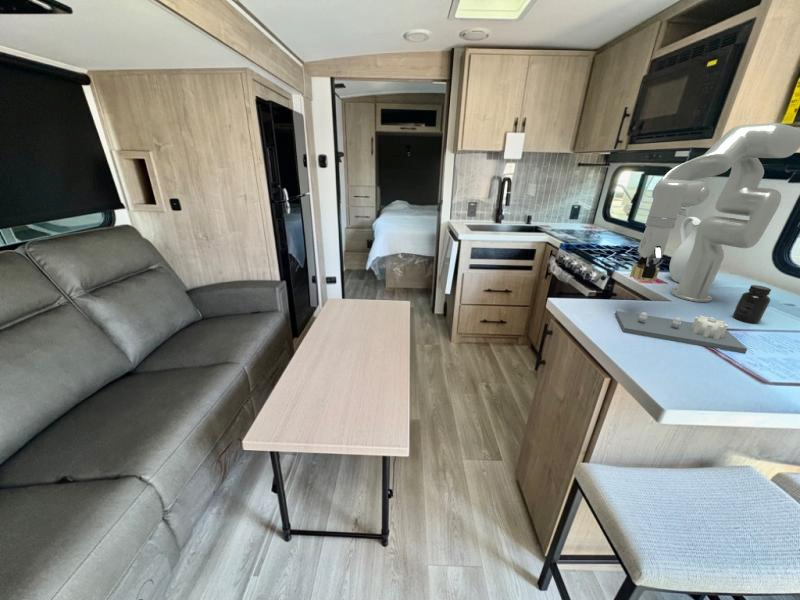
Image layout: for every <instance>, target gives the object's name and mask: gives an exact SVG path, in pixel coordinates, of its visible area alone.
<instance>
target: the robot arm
mask: <svg viewBox="0 0 800 600" xmlns="http://www.w3.org/2000/svg"><path fill="white" fill-rule="evenodd" d="M799 149H800V128H798V127H795V126H793V125H788V124H784V123H777V122H774V123H773V122H772V123H771V122H770V123H753V124H743V125H741V124H740V125H738V126H735V127H732V128H731V129H729V130H728V131H726V133H724V134H723V135H722V136H721V137H720V138H719V139H718V140H717V141H716V142H715V143H714V144H713V145H712V146H711V147H710V148H709V149H708V150H707V151H706V152H705V153H704V154H702V155H700V156H699V155H698V156H697V157H694V158H692V159H690V160H687V161H685V162H683V163H681V164H678V165H677V166H674V167H673V168H671V169H670V170H669V171H667V172H666V174H664V176H662V177H661V178H660V179H659V180H658V182H656V184H655V186H654V187H653V190H652V194H651V196H652V203H651V205H650V208H649V212H648V215H647V219H646V221H645V222H646V223H645V224H644V226H645V228H644V229H645V230H644V231H643V234H642V237H641V239H640V242H639V245H638V248H637V253H638V254H639V257H638V260H637V263H636V264H646V266H645V267H644V270H643V273H642V278H650V279H652V278H653V277H654V274H655V271H656V268H658V265H659V262H660V260H661V259H662V258H663V256H664V253H665V249H666V247H667V244H668V240H669V237H670V232H671V230H673V229H675V225H676V223H677V219H678V217H679V213H680V211H681V208H682V206H684V207H685V206H687V207H695V206H698V205H701V204H702V203H703V202H705V201H706V200H707V199H708V197H709V195H710V192H711V191H710V186H709V185H708V183H706V182H704V181H699V180H701V179H705V178H710V177H715V176H719V175H721V174H724V173H726V172H728V170H729V169H731V170H730V173H729V176H728V178H727V180H726V182H725V184H724V186H723V188H722V190H721V192H720V194H719V195H718V197H717V200H716V202H715V210H716V211H717V212H719V213H722V214H729V215H735V216H736V215H737V216H745V217H749V219H742V218H735V217H726V216H720V215H719V216H714V215H712V216H708V217H705V218H703V219H702V220H700V221H701V222H700V223H699V225H698V227H697V231H696V238H695V243H694V246H693V249H692V252H691V255H690V257H689V260H688V262H687V265H686V267H685V270H684V273H683V275H682V278H681V280H680V283H678V286H677V287H676V288H672V289H671V292H670V293H671V295H673V296H675V297H677V298H679V299H683V300H686V301H691V302H697V303H709V302H711V301H712V299H713V297H712V296H711V295H709V293H710V290H711V288H712V285H713V283H714V281H715V279H716V276H717V274H718V272H719V271H718V270H720V269H719V267H720V265H721V266H722V264H721V263H723V261H724V257H725V253H724V252H725V251H724V249H723V245H724V246H728V247H733V248H739V249H751V248H753V247H754V246H756V245H757V244H758V242H759V241H760V240H761V238H762V237H763V235H764V233H765V231H766V230H767V228H768V226H769V225H770V222H771V221H772V219H773V217H774V216H775V214H776V213H777V211H778V208H779V206H780V205H781V200H782V194H781V192H780V191H779V190H777V189H774V188H769V187H768V188H767V187H759V185H760V184H761V181H762V179H763V177H764V174H765V169H764V166H763V164H762V162H761V161H760V159H784V158H788V157H790V156H792V155H793V154H795V153H796V152H797V151H798V150H799ZM721 245H722V247H721ZM720 268H721V267H720Z"/></svg>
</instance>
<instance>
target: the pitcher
mask: <svg viewBox="0 0 800 600" xmlns="http://www.w3.org/2000/svg"><path fill="white" fill-rule="evenodd" d="M701 221H702V220H700V218H698V217H696V216H688V217H687V218H685V219H684V220H683V221H682V223H680V224H681V225H680V227H679V235H680V241H681V242H680V243H681V244H680V245H679V246H678V247H677V248H676V249H675V251H674V253H673V254H672V255H671V258H670V262H669V274H670V277H671V280H672V281H674V282H676V283H678V284H679V283H680V280H681V278H682V275H683V273H684V270H685V267H686V265H687V262H688V260H689V257H690V255H691V252H692V249H693V246H694V243H695V238H696V231H697V227H698V225H699V223H700V222H701ZM689 223H691V224H692V229H691V231H690V234H688V236H687V235H686V234H687V232H686V231H687V227H688V225H689ZM721 247H722V248H723V245H721ZM722 263H723V262H722ZM722 263H721V265H720V267H719V270H720V269H721V267H722ZM719 270H718V272H719Z"/></svg>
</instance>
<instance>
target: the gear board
mask: <svg viewBox="0 0 800 600" xmlns="http://www.w3.org/2000/svg"><path fill="white" fill-rule="evenodd" d="M615 315H616V316H615ZM614 316H615V319H616V320H617V322H618V325H619V327H620V328H621V331H622V333H627V334H630V335H631V334H632V335H638V336H644V337H650V338H654V339H655V338H656V339H659V340H667V341H671V342H672V341H673V342H677V343H683V344H689V345H696V346H699V347H700V346H701V347H705V346H708V348H711V347H714V348H713V349H717V348H720V349H719V350H723V349H726V350H725V351H728V350H731V351H730V352H734V351H735V352H736V353H740V354H746V353H747V350H748V348H747V347H746V346H745V345H744V344H743V343H742V342H741V341H739V340H738V339H737V338H736V337H735V336H734V335H733V334H732V333H731V332H729V331H728V330H727V329H728V327H729V325H728V324H727V323H726V322H725V321H724V320H718V319H715V317H712V316H710V317H709V316H704V315H699V316H698V317H697V316H695V318H694V320H693V321H692V322H691V321H685V320H682V318H681V317H679V316H678V317H675V318H665V317H659V316H653V315H648V313H647V312H645V311H644V312H643V311H642V312H641V313H635V312H628V311H620V310H615V313H614Z"/></svg>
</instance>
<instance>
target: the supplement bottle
mask: <svg viewBox="0 0 800 600" xmlns="http://www.w3.org/2000/svg"><path fill="white" fill-rule="evenodd" d="M771 291H772V289H771V288H770V287H767V286H762V285H759V284H758V285H757V284H752V285H750V286H749V289H748V291H746V292H744V293H743V294H741V297H740V298H739V301H738V303H737V305H736V307H735V309H734V311H733V313H732V317H733V318H734V319H735V320H737V321H740V322H744V323H747V324H758V323H760V322H761V320H762V319H763V316H764V314H765V312H766V310H767V309H768V307H769V304H770V303H771V298H770V297H769V295H770V294H771Z"/></svg>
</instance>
